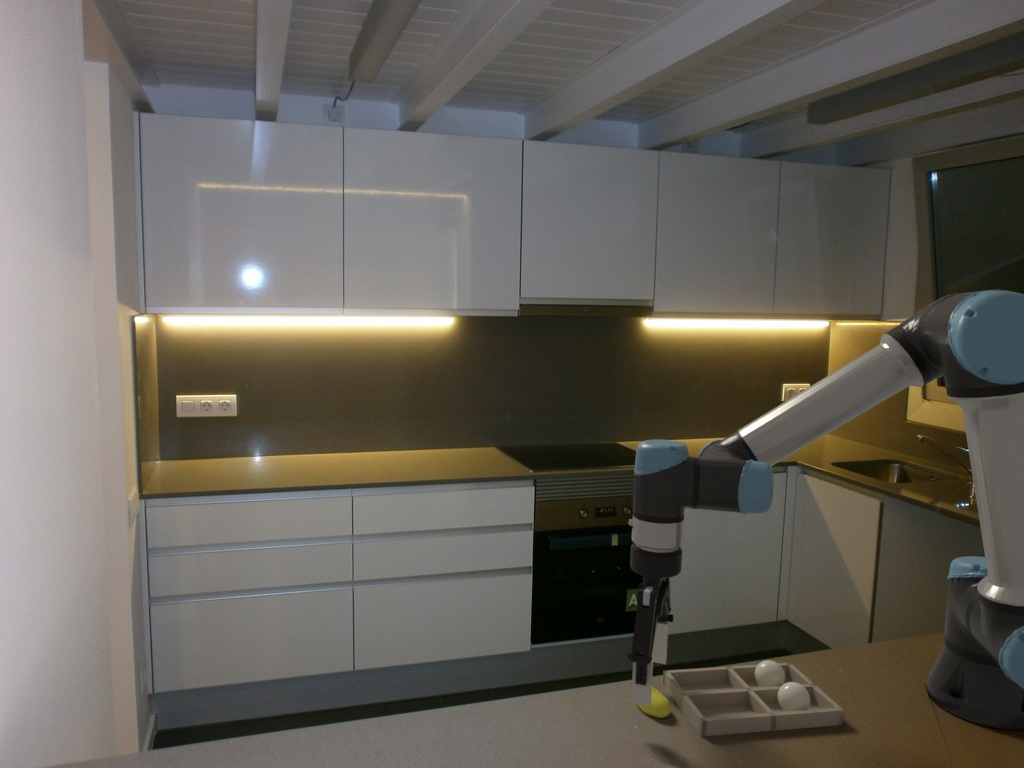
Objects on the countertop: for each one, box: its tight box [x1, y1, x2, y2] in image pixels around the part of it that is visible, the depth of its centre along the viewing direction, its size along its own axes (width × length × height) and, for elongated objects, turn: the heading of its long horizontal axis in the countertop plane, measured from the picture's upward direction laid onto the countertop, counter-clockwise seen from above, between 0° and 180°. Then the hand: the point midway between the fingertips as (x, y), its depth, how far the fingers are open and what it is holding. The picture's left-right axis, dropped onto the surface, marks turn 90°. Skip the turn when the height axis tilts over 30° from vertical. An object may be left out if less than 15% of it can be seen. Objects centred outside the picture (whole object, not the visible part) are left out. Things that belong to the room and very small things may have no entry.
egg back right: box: [755, 659, 785, 687], centre depth 120 cm, size 5×5×5 cm
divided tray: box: [662, 662, 845, 737], centre depth 115 cm, size 22×15×3 cm
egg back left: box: [778, 682, 810, 712], centre depth 113 cm, size 5×5×5 cm
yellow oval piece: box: [636, 686, 672, 719], centre depth 114 cm, size 4×8×4 cm, turn 20°
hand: (649, 681), depth 114 cm, fingers open, 13 cm apart
